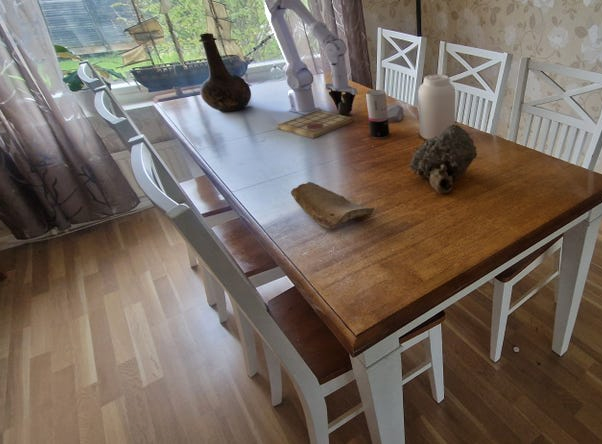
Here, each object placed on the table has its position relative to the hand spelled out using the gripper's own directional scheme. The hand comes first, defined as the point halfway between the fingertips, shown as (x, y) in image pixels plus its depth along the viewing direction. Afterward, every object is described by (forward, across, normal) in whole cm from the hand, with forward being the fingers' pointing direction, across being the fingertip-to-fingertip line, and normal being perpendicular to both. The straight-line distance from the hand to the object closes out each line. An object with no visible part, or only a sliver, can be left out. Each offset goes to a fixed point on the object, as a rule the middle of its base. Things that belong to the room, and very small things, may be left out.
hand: (344, 110), depth 150 cm
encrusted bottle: (+2, +63, -30) cm, 70 cm away
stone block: (+2, +17, +6) cm, 18 cm away
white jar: (+2, +43, 0) cm, 43 cm away
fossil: (+2, +48, -56) cm, 74 cm away
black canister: (+1, 0, 0) cm, 1 cm away
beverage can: (+2, +26, -10) cm, 28 cm away
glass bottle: (+2, -46, -18) cm, 50 cm away
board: (+2, -1, -14) cm, 15 cm away
